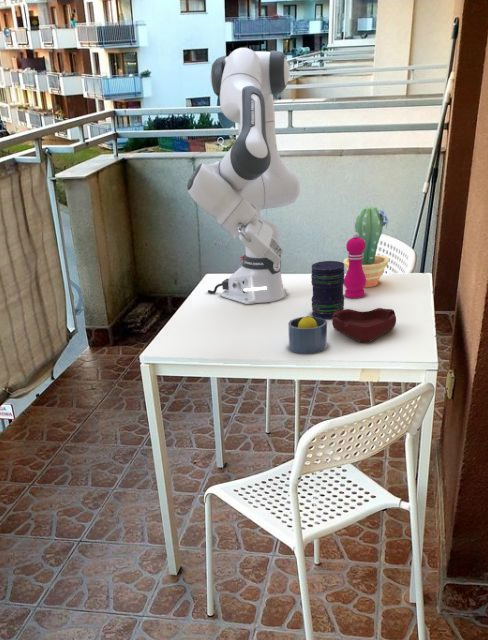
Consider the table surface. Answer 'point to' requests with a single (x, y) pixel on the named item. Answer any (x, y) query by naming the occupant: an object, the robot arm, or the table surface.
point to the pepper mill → (355, 268)
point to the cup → (307, 336)
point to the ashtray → (364, 323)
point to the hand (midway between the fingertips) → (280, 257)
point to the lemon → (307, 323)
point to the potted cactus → (371, 243)
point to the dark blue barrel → (327, 288)
